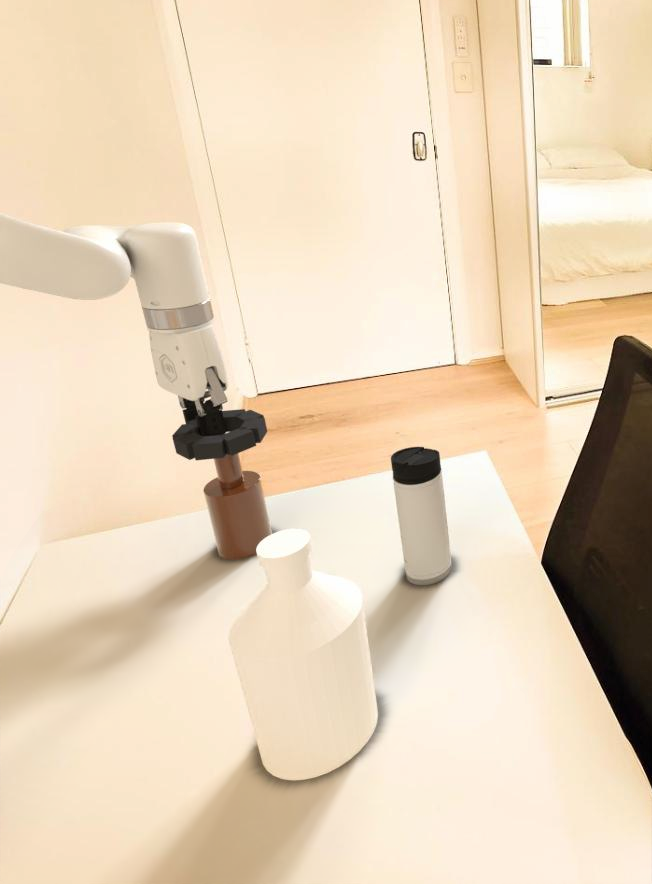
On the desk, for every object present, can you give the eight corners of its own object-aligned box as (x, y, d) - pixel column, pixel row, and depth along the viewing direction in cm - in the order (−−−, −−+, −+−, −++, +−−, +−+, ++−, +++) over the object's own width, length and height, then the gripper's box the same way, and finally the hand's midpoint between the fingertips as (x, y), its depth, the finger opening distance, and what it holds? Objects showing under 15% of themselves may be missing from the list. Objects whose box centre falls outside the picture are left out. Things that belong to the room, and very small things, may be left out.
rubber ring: (203, 467, 92) (200, 451, 91) (162, 446, 96) (158, 431, 95) (280, 435, 100) (278, 421, 99) (239, 417, 105) (236, 403, 104)
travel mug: (394, 581, 98) (377, 459, 91) (425, 553, 104) (411, 437, 97) (431, 592, 96) (416, 468, 90) (460, 563, 102) (449, 445, 95)
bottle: (248, 800, 68) (194, 597, 60) (268, 705, 78) (225, 520, 70) (379, 762, 72) (346, 567, 64) (382, 676, 83) (354, 498, 74)
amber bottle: (235, 566, 100) (211, 463, 94) (208, 550, 103) (183, 449, 97) (283, 540, 106) (263, 442, 100) (256, 526, 109) (235, 429, 103)
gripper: (117, 310, 94) (149, 430, 100) (181, 333, 87) (211, 460, 93) (178, 297, 100) (204, 410, 107) (242, 318, 93) (266, 437, 99)
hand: (207, 432), depth 100 cm, fingers closed on rubber ring, 2 cm apart
